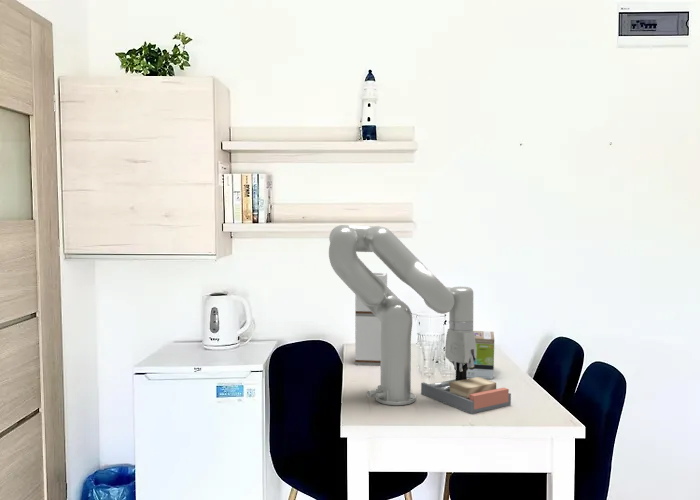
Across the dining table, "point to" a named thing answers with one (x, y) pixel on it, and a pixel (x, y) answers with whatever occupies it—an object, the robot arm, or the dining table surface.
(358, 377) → the dining table surface
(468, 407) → the roller track
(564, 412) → the dining table surface
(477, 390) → the oak slab
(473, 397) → the end stop
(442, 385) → the rollers
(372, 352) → the tall white box
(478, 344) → the tea box
